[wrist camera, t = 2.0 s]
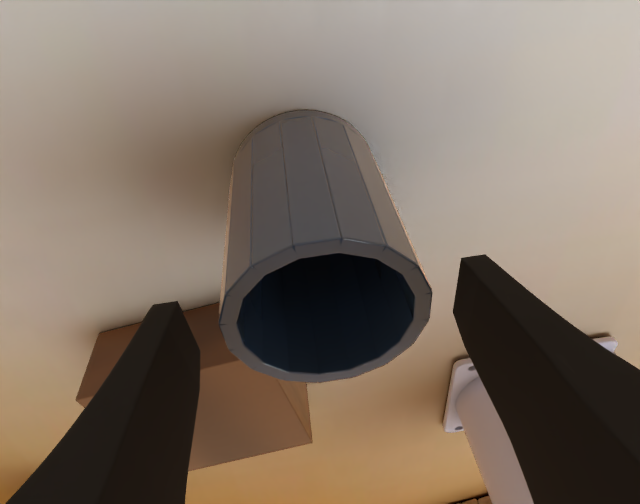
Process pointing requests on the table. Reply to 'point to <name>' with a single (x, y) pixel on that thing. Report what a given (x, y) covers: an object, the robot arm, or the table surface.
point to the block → (220, 396)
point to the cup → (316, 255)
